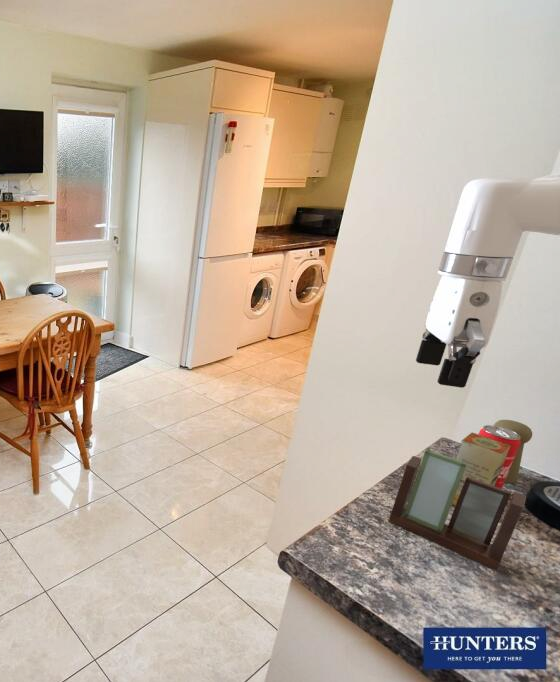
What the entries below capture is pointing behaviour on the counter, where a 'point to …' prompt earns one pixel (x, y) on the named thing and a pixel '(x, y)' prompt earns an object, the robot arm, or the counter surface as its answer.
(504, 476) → the beverage can
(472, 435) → the shoe polish box
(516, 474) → the cork
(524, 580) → the counter surface
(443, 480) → the window pane
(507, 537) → the window frame
